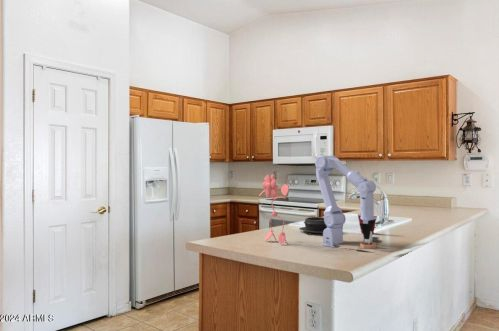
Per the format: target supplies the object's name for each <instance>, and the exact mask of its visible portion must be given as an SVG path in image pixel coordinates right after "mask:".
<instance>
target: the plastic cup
mask: <svg viewBox="0 0 499 331" xmlns="http://www.w3.org/2000/svg"><path fill="white" fill-rule="evenodd" d="M356 214H357V218H358V221H359V222H358V223H363V222H362V221H363V220H362V219H360V217H361V213H356ZM378 216H379V215H377V214H374V217H377V218H378ZM373 220H375V222H374V225H373V228H372V235H373V234H375V233H374V232H375V228H376V227H375V226H376V221H377V219H373ZM359 228H360V232H361V234H362V235H363V232H362V229H361V227H360V226H359Z"/></svg>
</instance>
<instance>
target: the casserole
mask: <svg viewBox="0 0 499 331" xmlns="http://www.w3.org/2000/svg"><path fill="white" fill-rule="evenodd" d="M303 224H304V226H303V227H299V229H298V230H300V231H303V232H306V233H308V234H311V235H323V231H324V229H326V228H327V225H326V224H325V222H324V217H323V216H321V217H320V216H317V217H316V216H314V217H313V216H312V217H311V216H310V217H307V218H305V220H304V221H303Z"/></svg>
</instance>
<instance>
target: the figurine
mask: <svg viewBox="0 0 499 331" xmlns="http://www.w3.org/2000/svg"><path fill="white" fill-rule="evenodd" d="M263 180H264V182H262V184H261V187H262V188H263V191H262V192H261V193H259V195H258V198H259V197H261V196H262V194H263V193H264V194H265V197H266V199H269V198H271V199H272V200H271V202H270V203H271V207H272V213H271V216H270V217H269V218H270V219H269V220H270V222H272V218H273V217H274V218H276V217H277V218H279V219H281V220H283V224H282V231H281V232H280V233H279V235H278V237H277V239H276V237H275V234H274V229H273V228H272V226H270V231H269V232H267V234H266V236H265V239H264V241H265V242H267V241H268V240H270V239H271V237H272V236H273V238H274V240H275V241H276V240H278V242H279V244H280V245H282V244H284V242H285V244H286V243H287V244H288V241H287V240H286V237H287V236H286V233H285V232H284V228H285V227H284V225H285V219H284V218H282V217H280V216H278V212H277V211H275V208H274V205H273V202H274V201H275V200H277V199H278V198H282V199H285V200H286V199H287V194H288V192H289V191H290V188H289V186H288V185H287V184H286V183H284V184H283V185H282V186H281V194H282V195H283V196H280V195H279V194H278V192H277V191H278V190H279V188H280V187H279V185H278V184H277V181H276V179H275V176H274V174H271V176H270V175H269V174H266V176H265V177H264V179H263ZM269 238H270V239H269Z"/></svg>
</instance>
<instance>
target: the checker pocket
mask: <svg viewBox="0 0 499 331" xmlns="http://www.w3.org/2000/svg"><path fill="white" fill-rule="evenodd" d="M379 240H380V237H379V236H372V242H373V243H378V242H379Z"/></svg>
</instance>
